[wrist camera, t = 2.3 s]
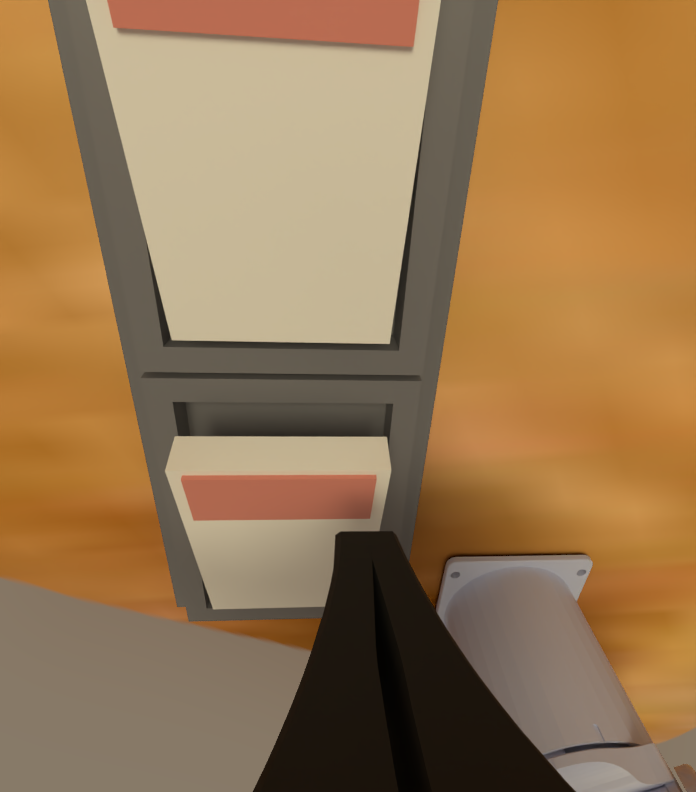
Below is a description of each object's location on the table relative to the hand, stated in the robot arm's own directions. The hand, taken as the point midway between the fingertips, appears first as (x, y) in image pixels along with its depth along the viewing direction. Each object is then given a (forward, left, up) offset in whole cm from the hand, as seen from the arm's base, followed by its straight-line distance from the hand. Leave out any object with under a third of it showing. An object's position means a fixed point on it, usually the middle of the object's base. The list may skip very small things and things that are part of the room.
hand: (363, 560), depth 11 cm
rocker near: (+8, +2, -4) cm, 9 cm away
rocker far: (-3, +2, -4) cm, 6 cm away
